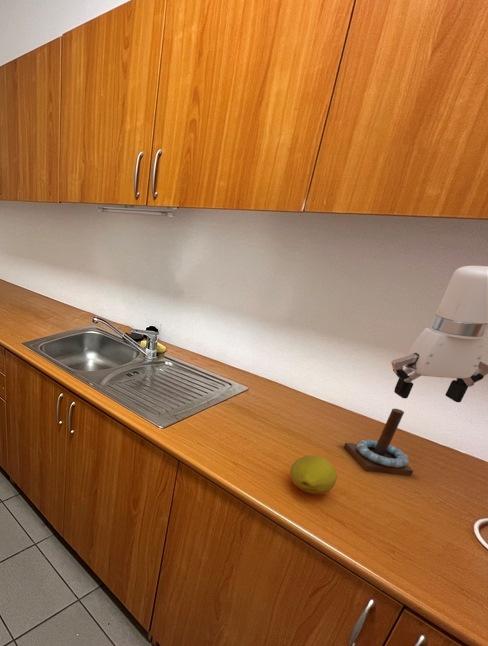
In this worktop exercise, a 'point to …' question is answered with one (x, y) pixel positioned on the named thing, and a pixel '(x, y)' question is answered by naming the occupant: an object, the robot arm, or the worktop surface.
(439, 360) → the robot arm
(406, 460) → the ring
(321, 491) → the lemon
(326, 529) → the worktop surface
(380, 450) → the peg stand
